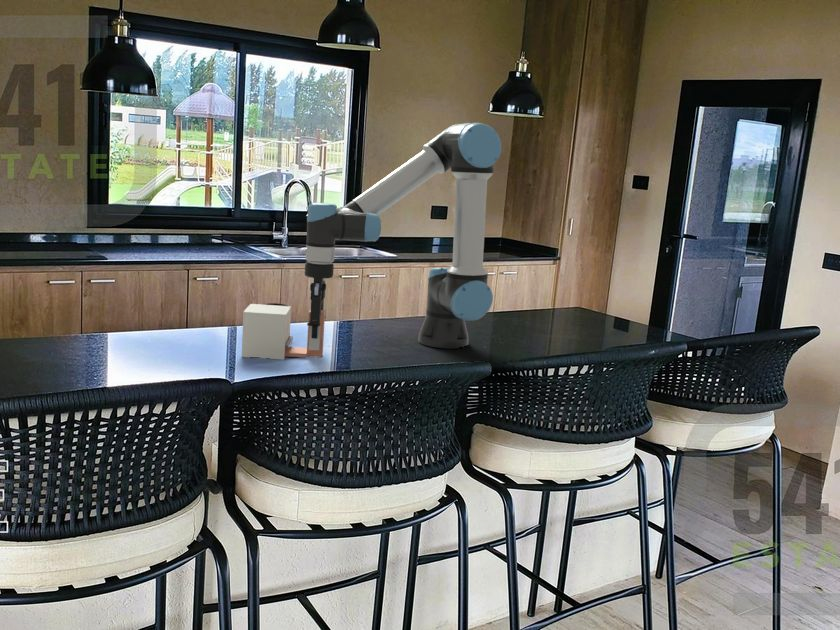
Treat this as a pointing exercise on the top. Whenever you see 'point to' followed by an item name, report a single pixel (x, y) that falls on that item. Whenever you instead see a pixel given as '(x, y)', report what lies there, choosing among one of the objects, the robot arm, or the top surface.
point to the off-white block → (266, 331)
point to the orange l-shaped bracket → (305, 351)
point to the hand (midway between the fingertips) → (315, 346)
